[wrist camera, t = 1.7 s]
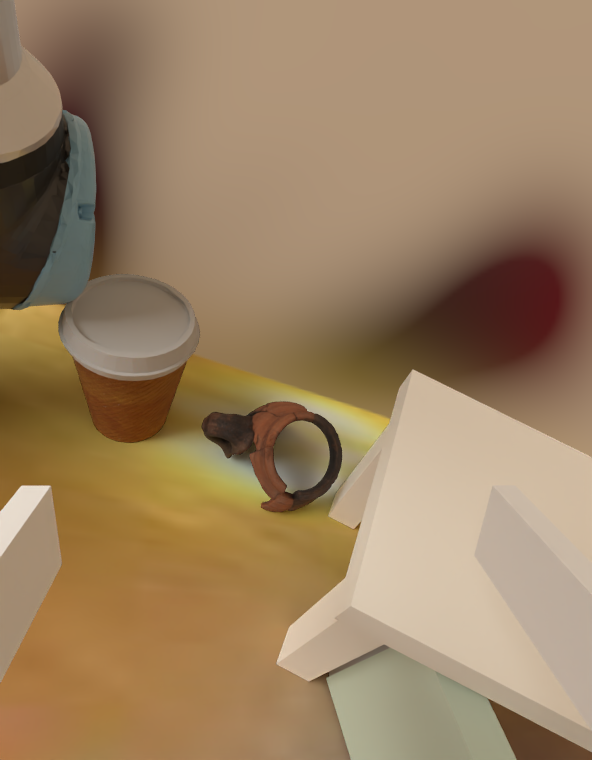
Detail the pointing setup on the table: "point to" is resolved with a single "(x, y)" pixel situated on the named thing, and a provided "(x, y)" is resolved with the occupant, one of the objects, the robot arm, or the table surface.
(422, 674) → the panel
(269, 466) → the brown curved piece
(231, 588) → the table surface
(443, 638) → the stool
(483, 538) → the robot arm
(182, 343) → the disposable coffee cup
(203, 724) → the table surface
